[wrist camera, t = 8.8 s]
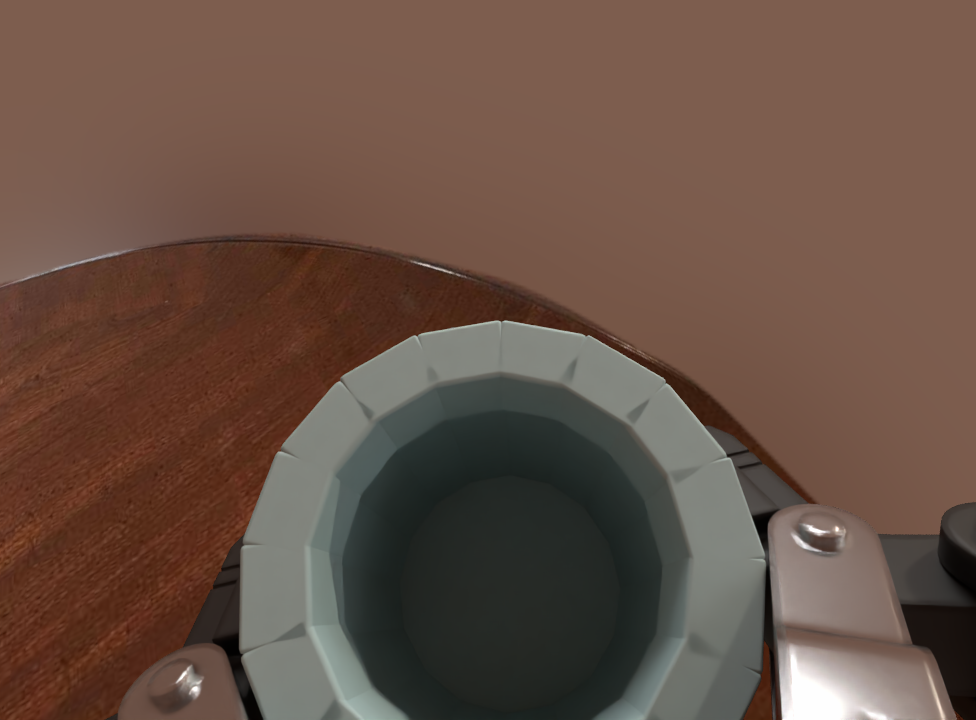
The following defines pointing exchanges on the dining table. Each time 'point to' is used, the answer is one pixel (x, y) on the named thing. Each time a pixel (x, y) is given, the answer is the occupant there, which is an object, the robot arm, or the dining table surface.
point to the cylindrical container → (502, 544)
